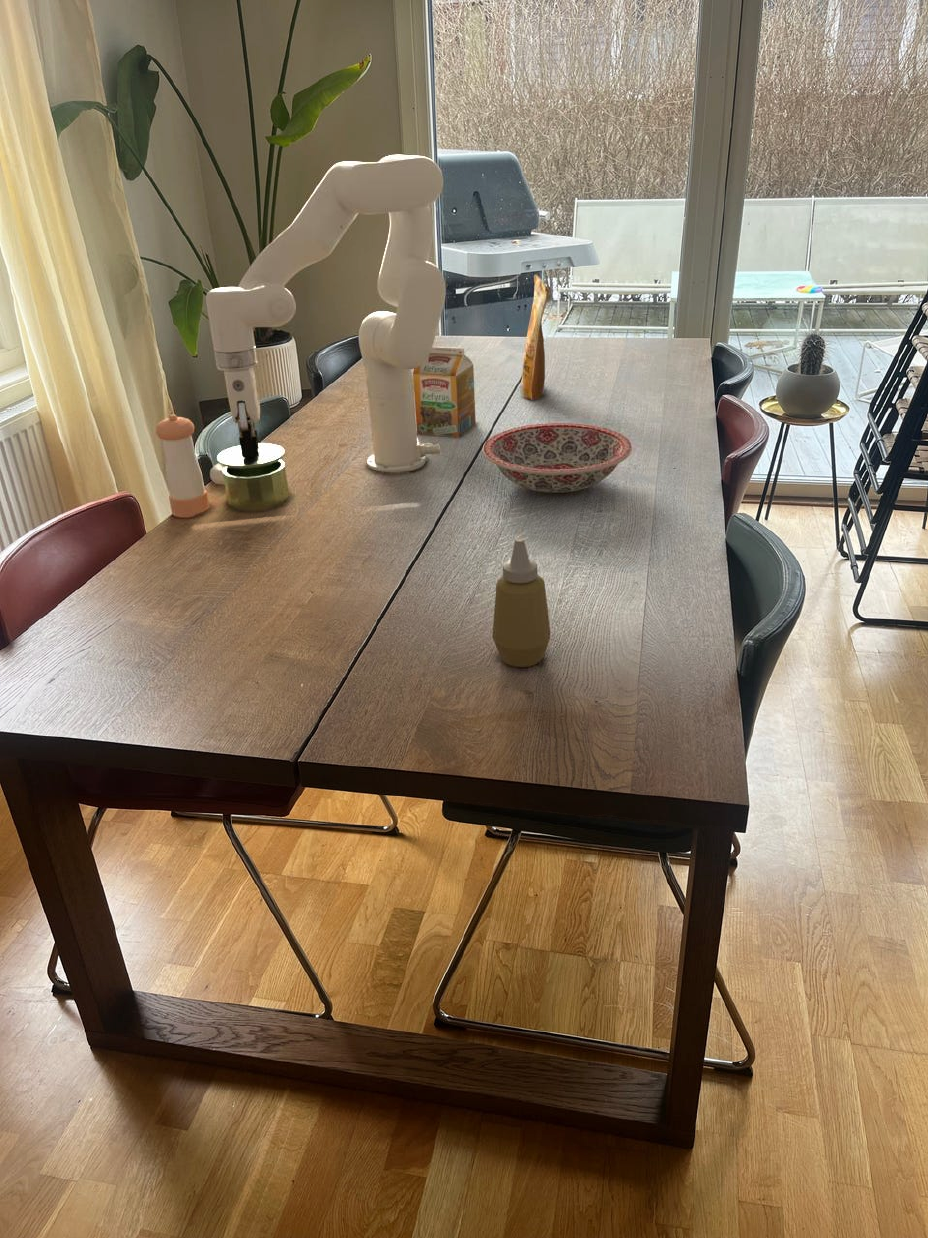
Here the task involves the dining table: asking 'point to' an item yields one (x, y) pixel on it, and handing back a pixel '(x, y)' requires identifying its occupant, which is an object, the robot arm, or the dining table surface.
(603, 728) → the dining table surface
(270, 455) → the lid
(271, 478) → the pot
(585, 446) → the ceramic bowl
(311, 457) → the dining table surface
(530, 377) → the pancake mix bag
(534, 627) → the squeeze bottle
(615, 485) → the dining table surface
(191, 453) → the pepper shaker
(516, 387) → the dining table surface
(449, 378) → the milk carton
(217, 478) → the donut
